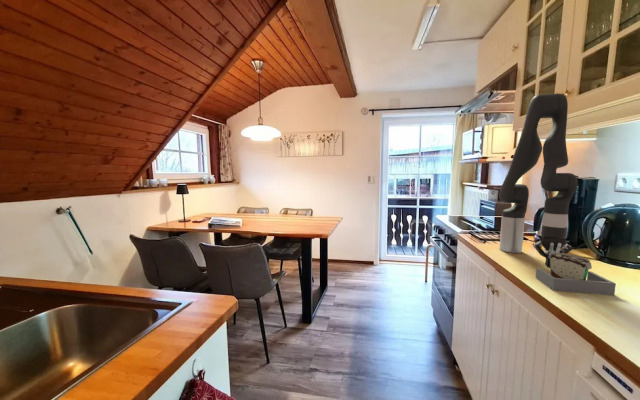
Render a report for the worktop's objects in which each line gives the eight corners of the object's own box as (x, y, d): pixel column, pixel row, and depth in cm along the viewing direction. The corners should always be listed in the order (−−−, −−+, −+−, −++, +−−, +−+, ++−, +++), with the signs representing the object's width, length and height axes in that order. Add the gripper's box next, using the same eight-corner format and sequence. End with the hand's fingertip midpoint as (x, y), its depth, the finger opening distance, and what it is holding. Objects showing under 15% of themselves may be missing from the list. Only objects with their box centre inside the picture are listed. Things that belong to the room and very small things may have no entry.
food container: (599, 290, 90) (602, 261, 89) (585, 292, 88) (588, 263, 87) (558, 276, 102) (561, 251, 100) (546, 278, 100) (548, 252, 99)
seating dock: (535, 278, 100) (536, 267, 100) (590, 282, 96) (591, 271, 96) (552, 290, 90) (553, 278, 90) (614, 295, 86) (615, 283, 86)
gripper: (568, 223, 106) (563, 265, 108) (529, 222, 109) (526, 263, 111) (581, 227, 98) (576, 272, 100) (540, 226, 101) (536, 269, 103)
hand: (550, 267), depth 106 cm, fingers closed
